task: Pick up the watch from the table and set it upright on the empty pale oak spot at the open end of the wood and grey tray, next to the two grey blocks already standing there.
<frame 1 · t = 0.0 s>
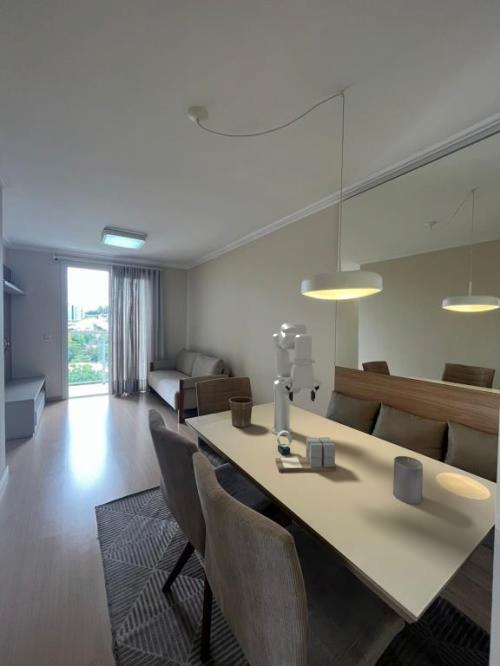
hand: (301, 400, 127), 31 cm above the table, tool pointing down, fingers open, 9 cm apart
pillar candle: (407, 497, 109), on the table
wood and grey tray: (304, 465, 131), on the table
watch: (284, 452, 145), on the table
plant pot: (241, 424, 184), on the table
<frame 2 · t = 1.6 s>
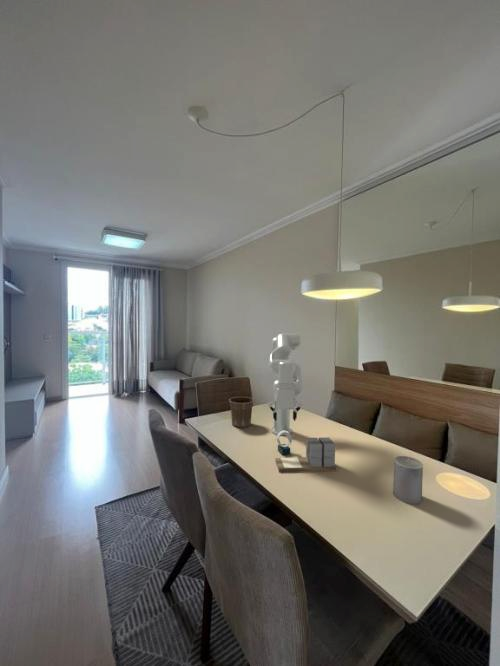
hand: (284, 419, 144), 17 cm above the table, tool pointing down, fingers open, 9 cm apart
nothing on the table moved.
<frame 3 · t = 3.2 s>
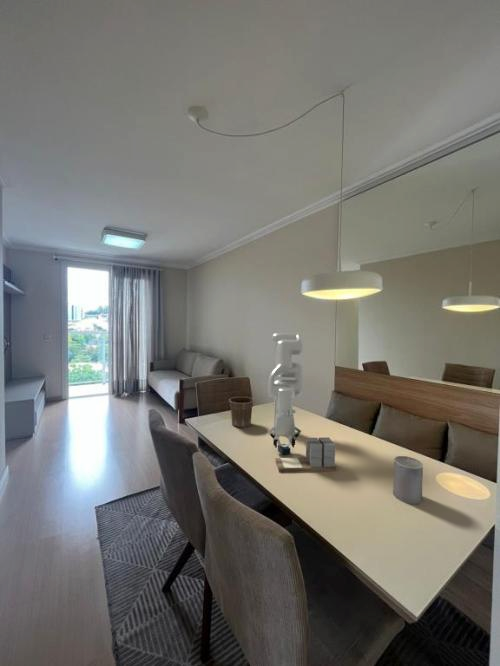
hand: (284, 446, 144), 3 cm above the table, tool pointing down, fingers closed on watch, 8 cm apart
watch: (284, 452, 145), on the table, touching gripper
everything else where it was.
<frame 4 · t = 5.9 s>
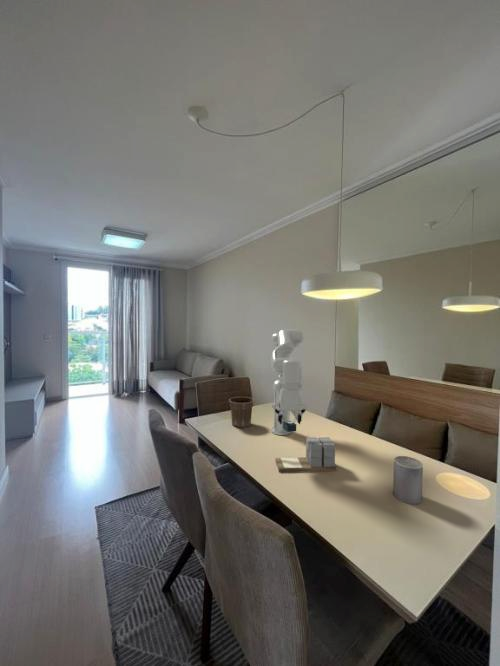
hand: (289, 422, 134), 19 cm above the table, tool pointing down, fingers closed on watch, 8 cm apart
watch: (289, 429, 134), point 15 cm above the table, touching gripper
everything else where it was.
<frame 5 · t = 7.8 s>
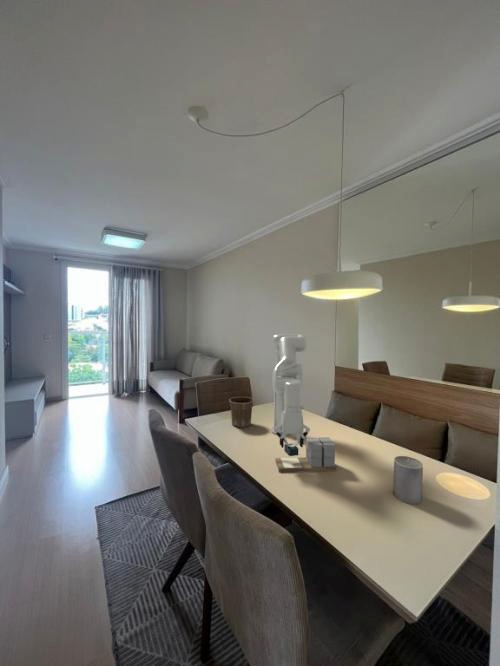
hand: (291, 446, 130), 9 cm above the table, tool pointing down, fingers closed on watch, 8 cm apart
watch: (291, 453, 130), point 6 cm above the table, touching gripper
everything else where it was.
when the fingers open (6 cm above the table, at t = 9.1 s): watch drops 1 cm, resting on wood and grey tray.
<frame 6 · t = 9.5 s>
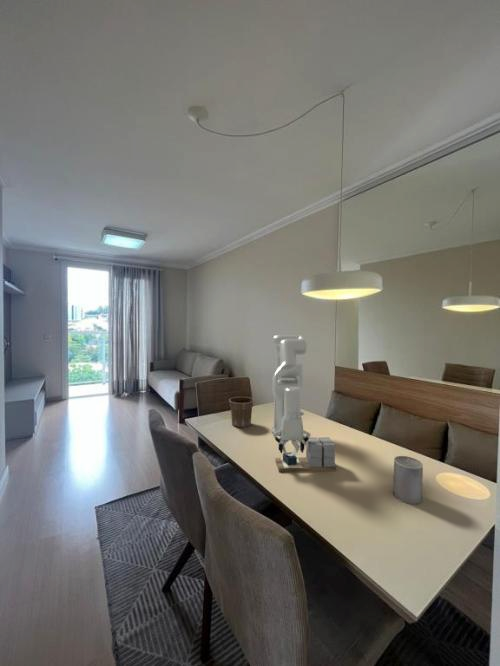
hand: (291, 451, 131), 7 cm above the table, tool pointing down, fingers open, 9 cm apart
watch: (289, 462, 131), point 2 cm above the table, touching gripper, wood and grey tray
everything else where it was.
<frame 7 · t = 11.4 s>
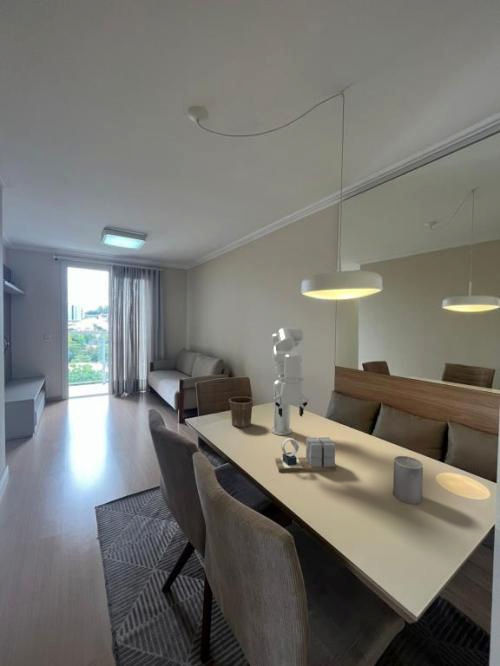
hand: (290, 415, 135), 22 cm above the table, tool pointing down, fingers open, 9 cm apart
watch: (289, 462, 131), point 1 cm above the table, touching wood and grey tray
everything else where it was.
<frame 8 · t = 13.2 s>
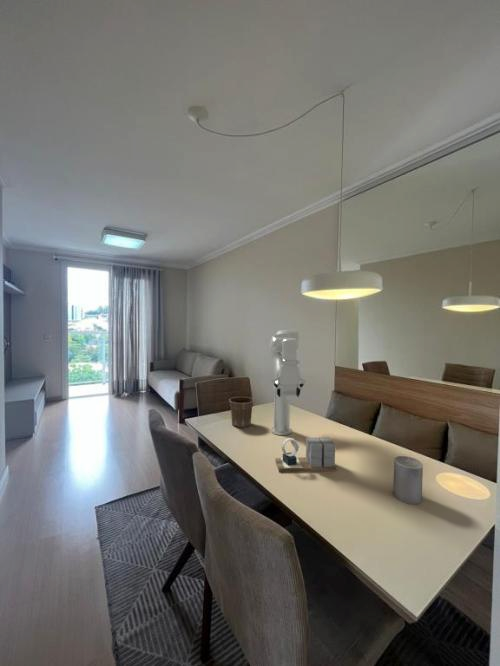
hand: (288, 396, 146), 28 cm above the table, tool pointing down, fingers open, 9 cm apart
nothing on the table moved.
at the end: watch 0.7 cm from the target spot on the wood and grey tray, point 1.5 cm above the wood and grey tray's base; watch tilted 0°; the gripper is holding nothing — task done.
